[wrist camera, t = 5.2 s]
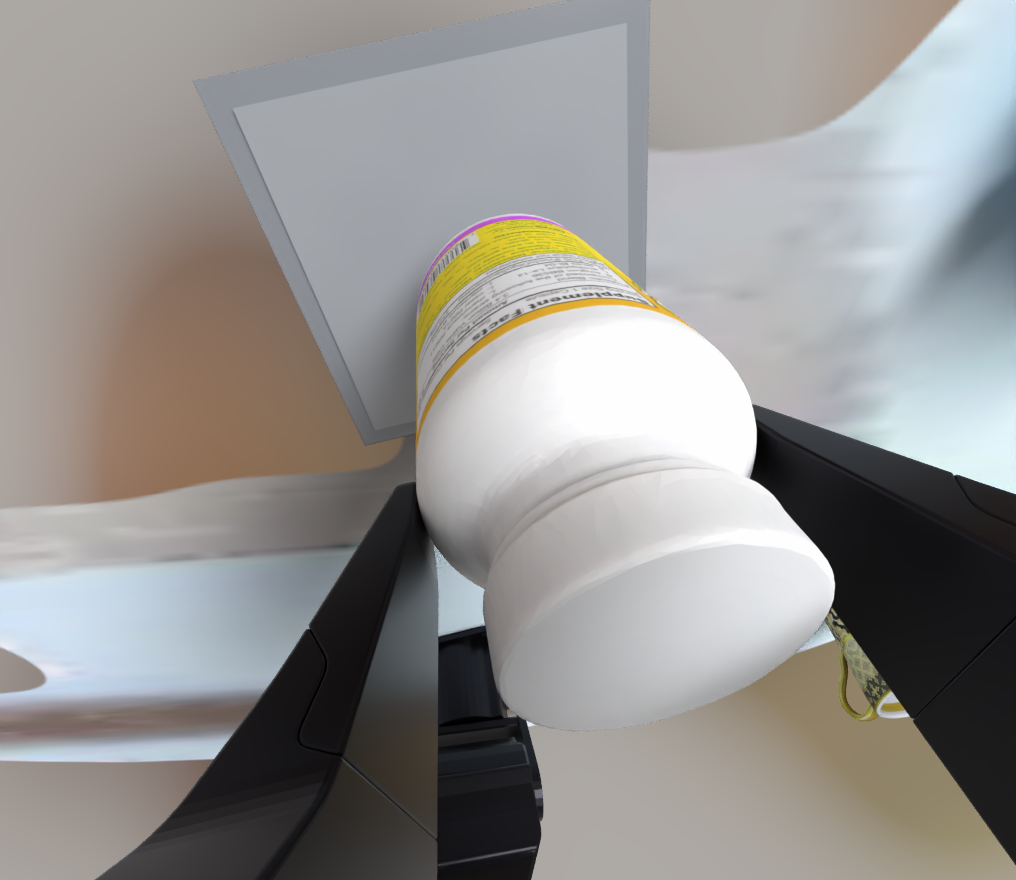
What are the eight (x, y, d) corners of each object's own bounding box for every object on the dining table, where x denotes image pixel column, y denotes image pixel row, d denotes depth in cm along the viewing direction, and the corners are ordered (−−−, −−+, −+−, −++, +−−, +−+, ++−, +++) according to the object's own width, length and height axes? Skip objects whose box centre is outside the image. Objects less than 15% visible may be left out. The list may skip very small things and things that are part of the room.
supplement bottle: (592, 380, 19) (804, 716, 8) (431, 399, 18) (449, 791, 8) (607, 198, 14) (1050, 427, 4) (399, 214, 14) (350, 530, 4)
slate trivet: (368, 422, 23) (364, 447, 22) (216, 83, 15) (190, 80, 13) (628, 361, 24) (645, 380, 22) (626, -5, 15) (652, -19, 13)
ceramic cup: (843, 528, 36) (962, 647, 28) (923, 541, 39) (1050, 650, 31) (746, 622, 43) (821, 738, 35) (821, 626, 46) (905, 734, 38)
